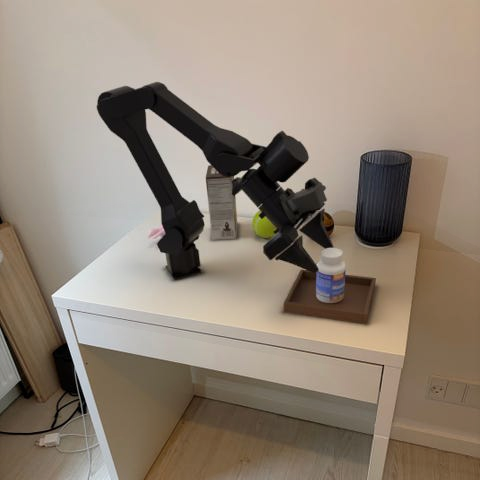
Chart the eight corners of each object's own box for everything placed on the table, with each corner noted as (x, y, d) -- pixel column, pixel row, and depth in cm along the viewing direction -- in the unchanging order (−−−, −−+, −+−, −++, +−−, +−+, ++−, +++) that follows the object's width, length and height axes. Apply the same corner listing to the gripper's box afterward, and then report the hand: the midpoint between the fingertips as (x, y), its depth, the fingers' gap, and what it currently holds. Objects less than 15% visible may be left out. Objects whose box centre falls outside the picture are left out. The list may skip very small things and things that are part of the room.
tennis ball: (253, 230, 124) (252, 204, 120) (281, 230, 123) (280, 203, 119) (252, 242, 118) (250, 215, 114) (280, 242, 117) (280, 215, 113)
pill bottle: (335, 307, 92) (338, 261, 87) (310, 299, 95) (311, 254, 89) (348, 294, 96) (352, 249, 90) (324, 286, 98) (326, 243, 93)
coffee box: (213, 225, 128) (207, 164, 119) (237, 224, 128) (233, 163, 119) (211, 240, 121) (205, 176, 111) (237, 239, 120) (232, 175, 111)
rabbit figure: (177, 228, 131) (141, 242, 119) (176, 206, 128) (139, 218, 117) (196, 232, 128) (161, 247, 117) (196, 209, 126) (160, 222, 114)
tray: (283, 312, 93) (283, 302, 92) (300, 277, 103) (300, 269, 102) (365, 324, 88) (366, 314, 87) (375, 286, 98) (376, 277, 97)
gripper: (279, 187, 77) (342, 260, 79) (316, 153, 90) (369, 216, 93) (237, 226, 85) (296, 292, 87) (277, 190, 98) (327, 247, 100)
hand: (324, 260), depth 91 cm, fingers open, 9 cm apart
